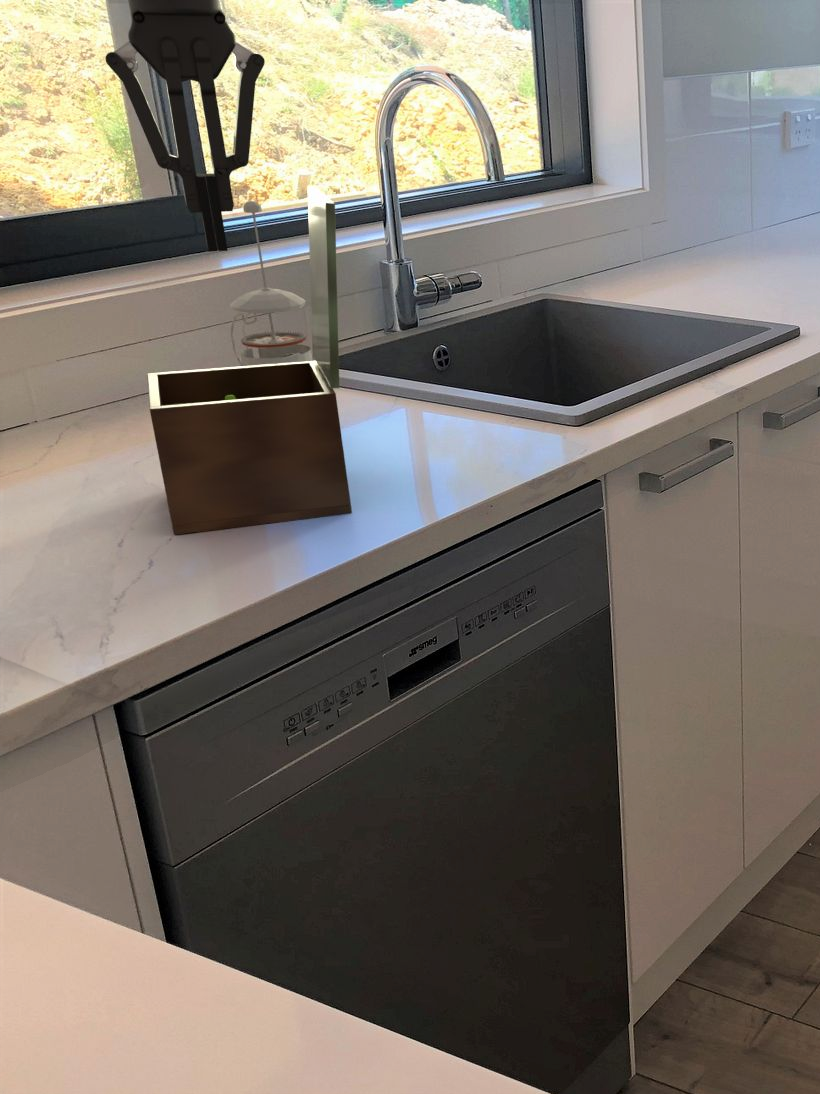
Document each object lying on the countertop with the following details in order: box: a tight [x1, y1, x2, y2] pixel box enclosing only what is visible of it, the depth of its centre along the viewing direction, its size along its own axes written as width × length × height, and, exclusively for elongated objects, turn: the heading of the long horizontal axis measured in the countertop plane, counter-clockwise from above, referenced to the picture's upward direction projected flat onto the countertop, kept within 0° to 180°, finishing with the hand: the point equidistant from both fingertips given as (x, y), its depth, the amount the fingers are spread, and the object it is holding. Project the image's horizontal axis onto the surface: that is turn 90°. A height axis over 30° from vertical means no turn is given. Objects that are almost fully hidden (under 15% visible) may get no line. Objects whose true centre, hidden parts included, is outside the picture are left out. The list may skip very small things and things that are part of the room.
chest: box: [146, 360, 353, 536], centre depth 136 cm, size 16×15×12 cm
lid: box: [306, 185, 340, 389], centre depth 133 cm, size 17×15×1 cm
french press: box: [229, 200, 314, 366], centre depth 161 cm, size 10×12×25 cm
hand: (217, 248), depth 128 cm, fingers closed
